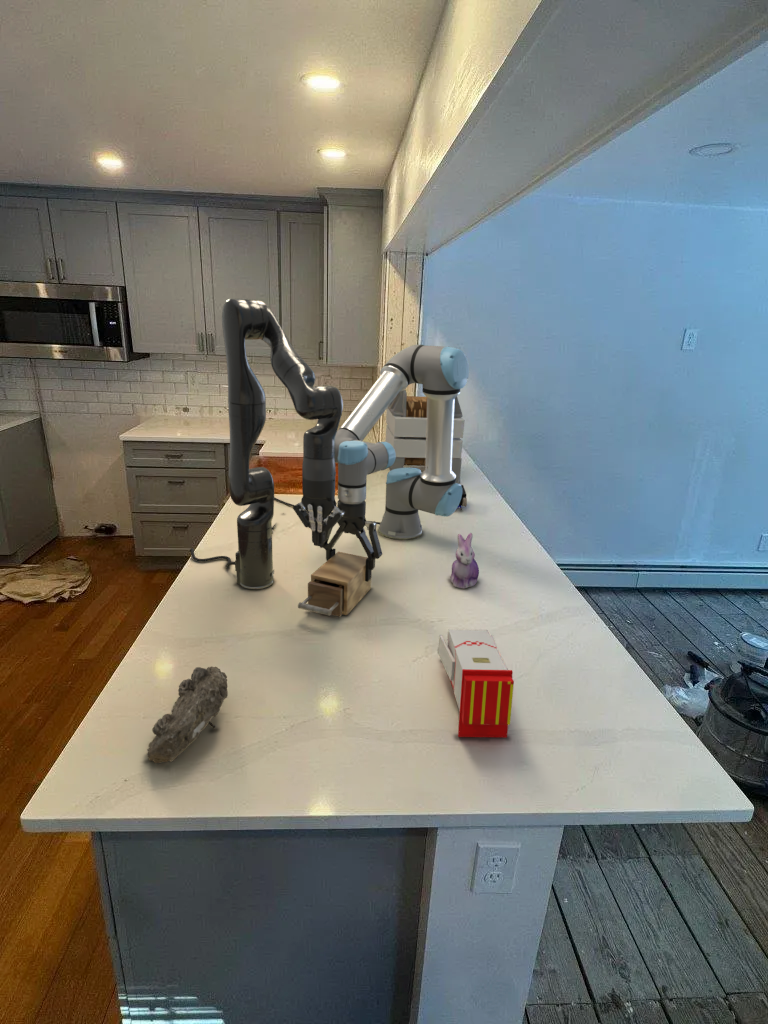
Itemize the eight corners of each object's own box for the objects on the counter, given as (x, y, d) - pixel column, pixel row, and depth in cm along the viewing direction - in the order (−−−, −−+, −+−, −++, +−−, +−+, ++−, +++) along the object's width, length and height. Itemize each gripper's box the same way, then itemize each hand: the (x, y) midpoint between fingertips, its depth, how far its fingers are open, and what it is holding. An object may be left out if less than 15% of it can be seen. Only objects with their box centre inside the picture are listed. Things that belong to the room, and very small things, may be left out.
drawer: (330, 627, 138) (330, 600, 135) (296, 619, 141) (296, 592, 138) (363, 591, 156) (364, 566, 154) (333, 584, 159) (333, 560, 157)
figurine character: (467, 515, 225) (461, 499, 238) (469, 498, 221) (463, 482, 235) (450, 514, 224) (445, 498, 238) (452, 497, 221) (447, 482, 234)
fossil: (176, 667, 115) (228, 635, 110) (209, 698, 118) (262, 668, 113) (121, 756, 95) (182, 722, 90) (163, 791, 98) (223, 759, 93)
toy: (488, 613, 130) (523, 677, 101) (484, 667, 133) (517, 744, 104) (435, 612, 130) (455, 676, 101) (432, 666, 133) (451, 743, 103)
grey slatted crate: (382, 463, 289) (386, 382, 275) (445, 464, 293) (451, 384, 279) (390, 482, 257) (394, 392, 243) (460, 483, 261) (468, 394, 247)
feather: (284, 516, 214) (286, 512, 213) (265, 543, 187) (268, 538, 187) (280, 514, 214) (282, 510, 213) (260, 540, 187) (263, 535, 187)
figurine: (460, 592, 160) (465, 543, 155) (441, 577, 168) (445, 530, 163) (487, 586, 164) (493, 538, 159) (467, 572, 173) (472, 526, 168)
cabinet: (346, 615, 146) (347, 582, 142) (310, 607, 149) (310, 574, 146) (370, 588, 160) (372, 558, 157) (337, 581, 163) (338, 551, 160)
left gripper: (285, 475, 128) (286, 545, 134) (338, 483, 124) (336, 555, 130) (301, 467, 135) (301, 534, 141) (352, 475, 130) (350, 544, 136)
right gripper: (306, 497, 150) (306, 572, 158) (387, 511, 143) (383, 589, 150) (319, 489, 157) (319, 562, 164) (397, 502, 150) (393, 578, 157)
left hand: (318, 544), depth 135 cm, fingers closed
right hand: (349, 575), depth 157 cm, fingers closed on cabinet, 10 cm apart
